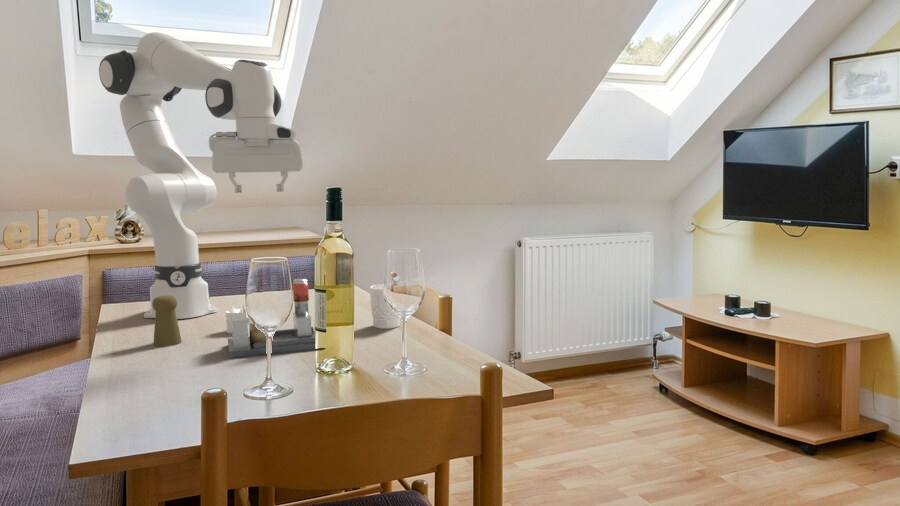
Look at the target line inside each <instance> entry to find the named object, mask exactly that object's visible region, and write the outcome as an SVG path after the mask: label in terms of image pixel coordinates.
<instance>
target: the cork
mask: <svg viewBox="0 0 900 506" xmlns="http://www.w3.org/2000/svg"><path fill="white" fill-rule="evenodd" d="M176 307H177V300H176V298H175V297H174V296H168V295H165V296H159V297H156V298H155V299H154V300H153V308H154V310H155V311H156V315H155V318H154V330H153V331H154V333H153V346H156V347H170V346H176V345H180V344H181V343H182V342H183V340H182V337H181V332H180V327H179V323H178V322H179V321H178V319H177V317H176V312H175V308H176Z"/></svg>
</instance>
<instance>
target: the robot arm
mask: <svg viewBox="0 0 900 506" xmlns="http://www.w3.org/2000/svg"><path fill="white" fill-rule="evenodd" d="M98 68H99V69H98V74H99V80H100V82H101V84H102V86H103V88H104V89H105V90H106V91H107V92H109V93H112V94H114V95H119V96H124V97H122V99H121V100H120V103H119V111H120V116H121V120H122V124H123V129H124V131H125V134H126V137H127V139H128V142H129V144H130V146H131V149H132V152H133V154H134V156H135V159H136V161H137V162H138V164H140V165H141V166H142V167H145V168H146V169H149V170H150V171H152V172H151V173H146V174H143V175H138V176H134V177H132V178H131V179H130V180H129V181H128V183H127V185H126V188H125V192H124V193H125V194H124V195H125V199H126V200H125V201H126V203H127V205H128V207H129V208H130V210H132V211H133V212H135V213H136V214H138V215H139V217H141V218H142V220H143V221H144V222H145V223H146V225H147V227H148V229H149V231H150V234H151V236H152V241H153V247H154V255H155V257H154V258H155V265H154V270H153V272H154V279H155V281H154V283H152V284H151V286H150V287H149V295H150V297H149V298H150V300H149V301H150V302H149V303H150V309H149V310H148V311H146V312H145V313H143V318H145V319H155V315H156V311H155V310H154V308H153V300H154V299H155V298H156V297H159V296H165V295H168V296H174V297H175V298H176V300H177V307H176V308H175V312H176V317H177V320H183V319H190V318H197V317H201V316H205V315H207V314H212V313H217V312H218V308H217V307H216V306H215V305H213V304H212V303H210V298H211V297H210V294H209V284H208V282H207V281H206V280H205V279H203V278H202V271H203V268H202V263H201V262H200V255H199V253H200V252H199V239H198V238H199V237H198V236H197V234H196V232H194V230H192V229H190V228H188V227H187V226H186V225H185V223H183V221H182V218H181V214H187V213H197V212H200V211H203V210H207V209H209V208H211V207H213V205H214V204H215V202H216V199H217V195H218V194H217V191H218V190H217V186H216V184H215V182H214V181H213V179H212V178H211V177H209V176H208V175H206V174H204V173H203V172H201V171H199V169H197V168H196V167H195V166H194V165H193V164H192V163H191V162H190V160H188V158H187V157H186V156H185V155H184V154H183V153H182V151H181V149H180V148H179V146H178V144H177V141H176V139H175V137H174V135H173V133H172V130H171V128H170V126H169V123H168V121H167V119H166V116H165V115H164V114H165V113H164V112H163V109H162V108H163V107H162V102H163V101H165V102H171V101H173V98H174V97H175V96H176V95H178V94H179V93H180V92H181V91H182V90H183V89H185V90H198V91H205V93H204V94H205V95H204V96H205V98H204V99H205V104H206V106H207V109H208V111H209V112H210V114H211V115H212V116H213V117H215V118H218V119H221V120H228V121H229V120H231V121H235V131H223V132H222V131H216V132H215V133H214V134H211V135H210V136H209V139H208V147H209V149H210V150H211V152H212V158H211V160H212V161H211V163H212V164H211V169H212V171H213V172H214V173H216V174H220V173H221V174H227V173H228V178H229V180H230V181H231V183H232V184H233V185H234V193H235V194H240V193H243V192H242V191H243V190H242V184H238V183H237V182H236V180H235V179H234V178H236V173H272V172H273V173H275V172H276V173H277V172H279V173H280V177H282V178H281V181H280V182H279V183H277V184H275V185H276V192H284V190H285V188H284V185H285V183H286V181H287V179H288V177H289V172H300V171H302V169H303V167H304V163H303V154H302V150H301V147H300V146H301V145H300V144H299V142H298V141H296V140H295V139H296V136H297V135H296V133H297V132H296V131H295V130H294V129H292V128H290V127H286V126H283V125H279V124H277V123H276V117H277V116H278V115H279V113H280V111H281V109H282V108H281V107H282V97H281V95H280V92H279V91H278V88H277V87H276V85H274V81H273V75H272V71H271V68H270V66H269V65H268V64H267V63H265V62H263V61H256V60H248V59H238V60H236V61H234V63H233V66H232V68H229V67H227V66H225V65H222V64H220V63H219V62H217V61H215V60H213V59H212V58H210V57H208V56H206V55H205V54H202V53H201V52H199V51H198V50H196V49H194V48H193V47H192V46H189V45H188V44H186V43H185V42H183V41H181V40H180V39H178V38H175V37H174V36H171V35H169V34H165V33H161V32H156V31H153V32H149V33H146V34H145V35H143V36H142V37H141V39H140V40H139V42H138V45H137V49H136V51H134V52H128V51H126V50H120V51H118V52H114V53H111V54H108V55H105V56H104V57H103V58H102V59H101V61H100V63H99V67H98Z"/></svg>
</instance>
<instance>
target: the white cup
mask: <svg viewBox="0 0 900 506" xmlns="http://www.w3.org/2000/svg"><path fill="white" fill-rule="evenodd" d="M384 284H385V283H382V284H381V283H380V284H374V285H371V286H369V293H370V306H371V316H372V321H373V324H372V325H373V328H376V329H384V330H385V329H387V330H389V329H395V328H398V327H400V326H401V317H400V318H399V317H398V316H397V315H396V314H395V313H394V312H393V311H392V310H391V309H390V307H389V306H388V305H387V303H386V302H385V300H384V296H383V287H384Z"/></svg>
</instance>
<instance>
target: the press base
mask: <svg viewBox="0 0 900 506" xmlns="http://www.w3.org/2000/svg"><path fill="white" fill-rule="evenodd" d="M231 320H232V333H231V335H232V337H231V338H230V337H229V338H227V348H228V355H229V359H238V358H248V357H257V356H267V355H266V342H257V343H250V336H249V329H248V323H247V317H246V314H245V313H236V314H231ZM276 330H277V331H276V332H275V334H274V336H273V341H272V354H271V355H277V354H288V353H297V352H305V351H315V331H314V327H313V326H311V332H312V337H307V338H296V336H295V335H294V328H287V329H276Z"/></svg>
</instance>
